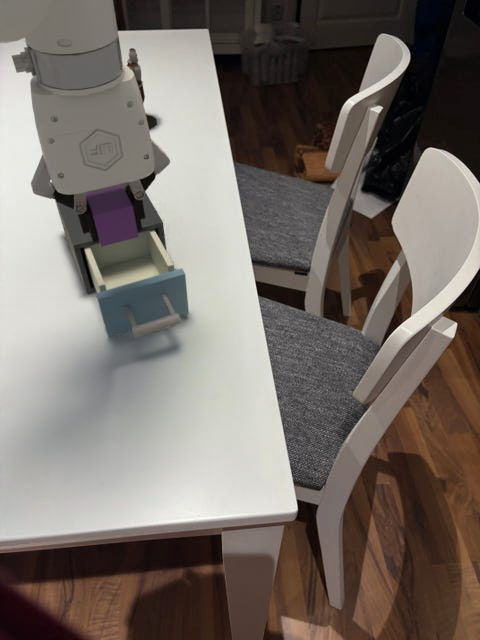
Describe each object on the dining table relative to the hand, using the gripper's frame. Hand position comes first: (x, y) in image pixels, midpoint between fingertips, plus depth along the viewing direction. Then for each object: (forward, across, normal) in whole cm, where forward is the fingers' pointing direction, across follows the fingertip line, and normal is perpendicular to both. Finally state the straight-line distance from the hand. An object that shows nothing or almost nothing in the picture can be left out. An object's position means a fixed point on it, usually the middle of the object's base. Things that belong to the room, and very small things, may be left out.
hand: (114, 228), depth 59 cm
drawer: (+17, +2, +4) cm, 17 cm away
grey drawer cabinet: (+18, +2, +17) cm, 25 cm away
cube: (0, 0, 0) cm, 0 cm away
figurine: (+18, +17, +57) cm, 62 cm away
